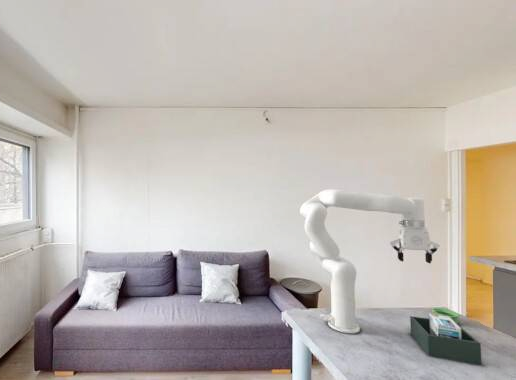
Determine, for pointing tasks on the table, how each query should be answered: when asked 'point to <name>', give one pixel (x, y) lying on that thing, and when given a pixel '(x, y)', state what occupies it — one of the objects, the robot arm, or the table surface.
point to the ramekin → (446, 313)
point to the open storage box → (445, 343)
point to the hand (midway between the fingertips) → (414, 261)
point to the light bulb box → (444, 326)
